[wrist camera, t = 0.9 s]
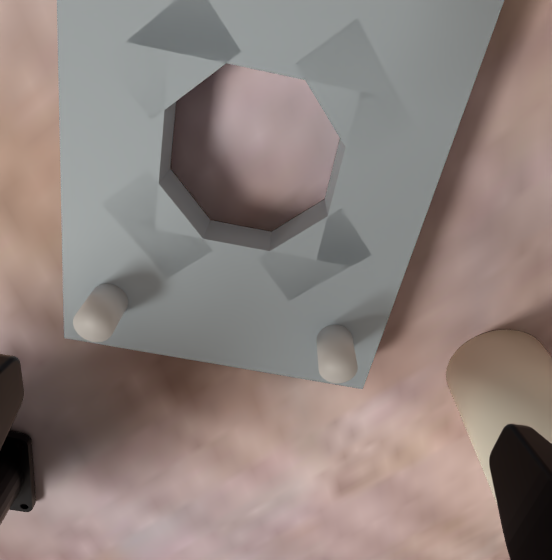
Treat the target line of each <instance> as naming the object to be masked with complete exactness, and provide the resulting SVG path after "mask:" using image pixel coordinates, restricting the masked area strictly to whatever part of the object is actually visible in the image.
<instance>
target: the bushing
mask: <svg viewBox="0 0 552 560" xmlns="http://www.w3.org/2000/svg"><path fill="white" fill-rule="evenodd" d="M446 380H447V384H448V387H449V389H450V392H451V394H452V397H453V399H454V401H455V404H456V406H457V409H458V411H459V413H460V416H461V418H462V421H463V423H464V426H465V428H466V430H467V433H468V435H469V438H470V440H471V442H472V445H473V447H474V450H475V452H476V454H477V457H478V459H479V462H480V464H481V467H482V469H483V471H484V474H485V476H486V479H487V481H488V483H489V486H490V488H491V491H492V493H493V495H494V498H495V500H496V495H495V491H494V486H493V481H492V476H491V472H490V466H489V457H490V453H491V451H492V449H493V447H494V445H495V443H496V441H497V439H498V437H499V435H500V434H501V432H502V430H503V428H504V427H505V426H506V425H507V424H518V425H525V426H529V427H531V428H533V429H534V430H535V431H537V432H538V433H539V434H540V435H542V436H543V437H544V438H545V439H546V440H548V441H549V442H550V443H551V444H552V357H551V356H550V355H549V353H548V352H547V351H546V349H545V348H544V346H543V345H542V344H541V343H540V342H539V341H538V340H537V339H536V338H535V337H533V336H531V335H529V334H527V333H524V332H521V331H517V330H495V331H490V332H487V333H483V334H481V335H478V336H476V337H474V338H472V339H470V340H469V341H467V342H466V343H465V344H463V345H462V346H461V347H460V348H459V349H458V350H457V351H456V352H455V353H454V355H453V356H452V358H451V359H450V361H449V364H448V366H447V371H446ZM496 503H497V500H496Z"/></svg>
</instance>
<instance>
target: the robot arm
mask: <svg viewBox="0 0 552 560" xmlns="http://www.w3.org/2000/svg"><path fill="white" fill-rule="evenodd" d="M23 395H24V389H23V381H22V373H21V366H20V361H19V359H18V358H17V357H15V356H10V355H3V354H0V525H1V523H2V521H3V519H4V518H5V516H6V514H7V512H8V511H9V509H10V510H16V511H23V512H29V511H31V510H32V509H33V507H34V505H35V487H34V473H33V459H32V444H31V439H30V437H29V436H28V435H26V434H23V433H18V432H12V431H9V430H10V428H11V425H12V423H13V421H14V419H15V417H16V415H17V412H18V410H19V408H20V406H21V404H22V400H23ZM489 466H490V472H491V476H492V481H493V486H494V491H495V495H496V500H497V505H498V510H499V514H500V519H501V524H502V529H503V533H504V538H505V542H506V546H507V549H508V553H509V556H510V560H552V444H551V443H550V442H549V441H548V440H546V439H545V438H544V437H543V436H542V435H540V434H539V433H538V432H537V431H535V430H534V429H533V428H531V427H529V426H525V425H518V424H507V425H506V426H505V427H504V428H503V430H502V432H501V434H500V435H499V437H498V439H497V441H496V443H495V445H494V447H493V449H492V451H491V453H490V457H489Z"/></svg>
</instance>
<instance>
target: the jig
mask: <svg viewBox="0 0 552 560" xmlns="http://www.w3.org/2000/svg"><path fill="white" fill-rule="evenodd" d="M503 3H504V0H57V25H58V73H59V120H60V168H61V215H62V263H63V310H64V338H66V339H72V340H78V341H84V342H90V343H96V344H102V345H107V346H113V347H119V348H125V349H131V350H137V351H142V352H148V353H154V354H160V355H166V356H172V357H178V358H183V359H189V360H195V361H201V362H207V363H213V364H218V365H224V366H230V367H236V368H242V369H248V370H253V371H259V372H265V373H271V374H277V375H283V376H289V377H294V378H300V379H306V380H312V381H318V382H324V383H329V384H335V385H341V386H347V387H353V388H359V389H363V387H364V384H365V381H366V378H367V376H368V373H369V370H370V367H371V365H372V362H373V359H374V356H375V354H376V351H377V348H378V345H379V343H380V340H381V337H382V335H383V332H384V329H385V326H386V324H387V321H388V318H389V315H390V313H391V310H392V307H393V304H394V302H395V299H396V296H397V293H398V291H399V288H400V285H401V282H402V280H403V277H404V274H405V271H406V269H407V266H408V263H409V260H410V258H411V255H412V252H413V249H414V247H415V244H416V241H417V239H418V236H419V233H420V230H421V228H422V225H423V222H424V219H425V217H426V214H427V211H428V208H429V206H430V203H431V200H432V197H433V195H434V192H435V189H436V186H437V184H438V181H439V178H440V175H441V173H442V170H443V167H444V164H445V162H446V159H447V156H448V153H449V151H450V148H451V145H452V142H453V140H454V137H455V134H456V132H457V129H458V126H459V123H460V121H461V118H462V115H463V112H464V110H465V107H466V104H467V101H468V99H469V96H470V93H471V90H472V88H473V85H474V82H475V79H476V77H477V74H478V71H479V68H480V66H481V63H482V60H483V57H484V55H485V52H486V49H487V46H488V44H489V41H490V38H491V36H492V33H493V30H494V27H495V25H496V22H497V19H498V16H499V14H500V11H501V8H502V5H503ZM226 63H228V64H232V65H237V66H242V67H247V68H251V69H256V70H261V71H265V72H270V73H275V74H280V75H284V76H289V77H294V78H298V79H303V80H306V82H307V84H308V85H309V87H310V89H311V90H312V92H313V94H314V95H315V97H316V99H317V100H318V102H319V104H320V105H321V107H322V109H323V110H324V112H325V114H326V115H327V117H328V119H329V120H330V122H331V124H332V125H333V127H334V129H335V130H336V132H337V134H338V135H339V137H340V141H339V145H338V149H337V153H336V157H335V160H334V164H333V168H332V172H331V176H330V180H329V184H328V188H327V192H326V196H325V199H324V200H322V201H321V202H319V203H318V204H316V205H314V206H313V207H311V208H309V209H308V210H306V211H304V212H303V213H301V214H300V215H298V216H296V217H295V218H293V219H291V220H290V221H288V222H287V223H285V224H283V225H282V226H280V227H278V228H277V229H275V230H274V231H272V232H270V231H265V230H260V229H254V228H249V227H244V226H239V225H233V224H228V223H223V222H218V221H212V220H210V219H209V218H208V216H207V215H206V214H205V213H204V211H203V210H202V209H201V207H200V206H199V205H198V204H197V202H196V201H195V200H194V199H193V197H192V196H191V195H190V193H189V192H188V191H187V190H186V188H185V187H184V186H183V184H182V183H181V182H180V181H179V179H178V178H177V177H176V176H175V174H174V173H173V172H172V170H171V169H170V165H171V154H172V143H173V132H174V120H175V109H176V101H177V100H179V99H180V98H181V97H182V96H184V95H185V94H186V93H188V92H189V91H190V90H192V89H193V88H194V87H196V86H197V85H198V84H200V83H201V82H202V81H203V80H205V79H206V78H207V77H209V76H210V75H211V74H213V73H214V72H215V71H217V70H218V69H219V68H221V67H222V66H223V65H225V64H226Z"/></svg>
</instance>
